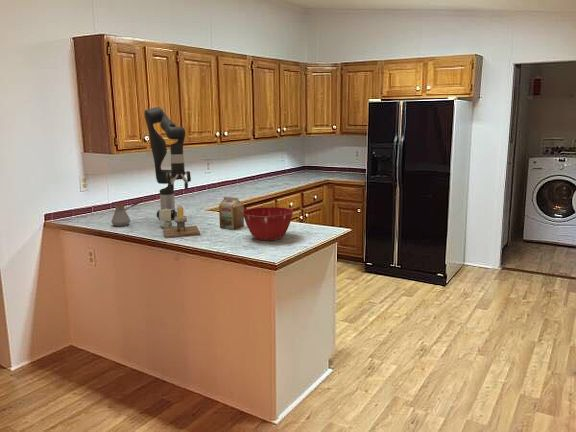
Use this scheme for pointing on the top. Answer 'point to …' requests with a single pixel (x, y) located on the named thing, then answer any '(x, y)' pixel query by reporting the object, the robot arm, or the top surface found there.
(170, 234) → the board
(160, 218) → the pneumatic valve
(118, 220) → the coffee pot
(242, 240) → the top surface
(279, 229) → the mixing bowl
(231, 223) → the milk carton
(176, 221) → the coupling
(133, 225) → the top surface
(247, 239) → the top surface
